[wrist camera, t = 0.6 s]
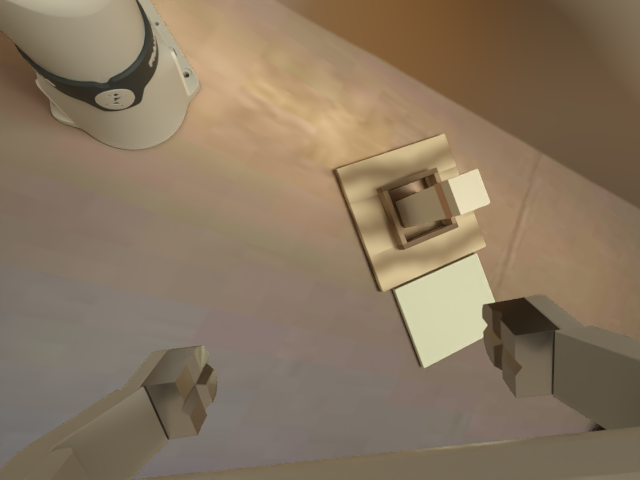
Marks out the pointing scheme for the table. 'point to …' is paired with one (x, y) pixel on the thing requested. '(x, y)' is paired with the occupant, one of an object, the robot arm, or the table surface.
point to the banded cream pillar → (444, 200)
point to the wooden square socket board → (381, 219)
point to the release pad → (445, 308)
